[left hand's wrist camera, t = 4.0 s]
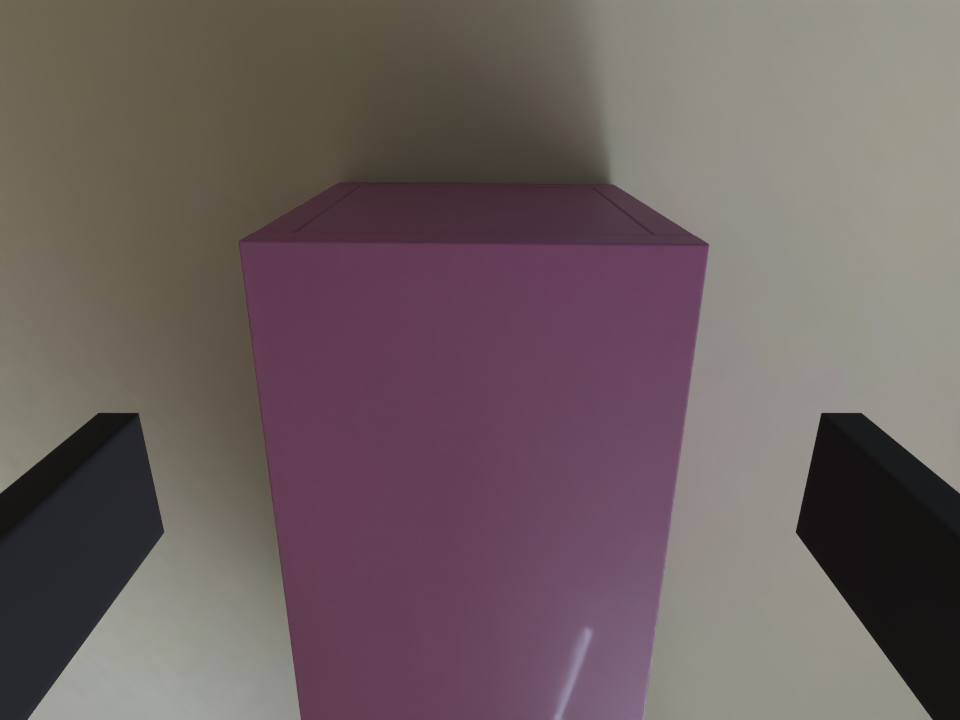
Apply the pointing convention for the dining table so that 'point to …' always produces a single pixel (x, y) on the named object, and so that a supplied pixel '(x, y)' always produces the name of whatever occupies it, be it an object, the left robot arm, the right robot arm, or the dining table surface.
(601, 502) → the purple rectangular block
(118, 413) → the left robot arm
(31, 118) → the dining table surface
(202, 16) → the dining table surface
